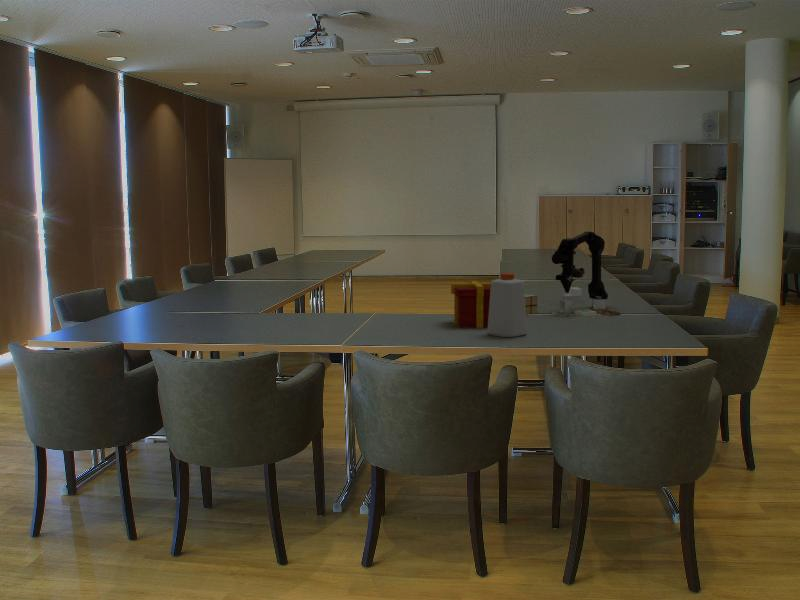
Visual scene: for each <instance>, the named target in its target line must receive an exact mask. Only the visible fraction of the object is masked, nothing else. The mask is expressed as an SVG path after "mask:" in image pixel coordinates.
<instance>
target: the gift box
mask: <svg viewBox="0 0 800 600" xmlns="http://www.w3.org/2000/svg"><path fill="white" fill-rule="evenodd" d="M490 290H491V282H483V283H482V282H478V281H477V280H470V281H469V283H450V294H452V295H453V296H454V297H453V298H454V299H453V300H454V302H453V309H454V314H453V318H454V320H453V322H454V323H453V324H454V326H458V327H459V328H460V329H462V328H463V329H465V328H466V329H467V328H468V329H469V328H476V329H484V328H488V317H489V303H490Z"/></svg>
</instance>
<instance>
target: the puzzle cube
mask: <svg viewBox="0 0 800 600" xmlns="http://www.w3.org/2000/svg"><path fill="white" fill-rule="evenodd" d="M525 309H526V315H531V314H532V315H533V314H537V313H538V295H536V294H528V293H525Z"/></svg>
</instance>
